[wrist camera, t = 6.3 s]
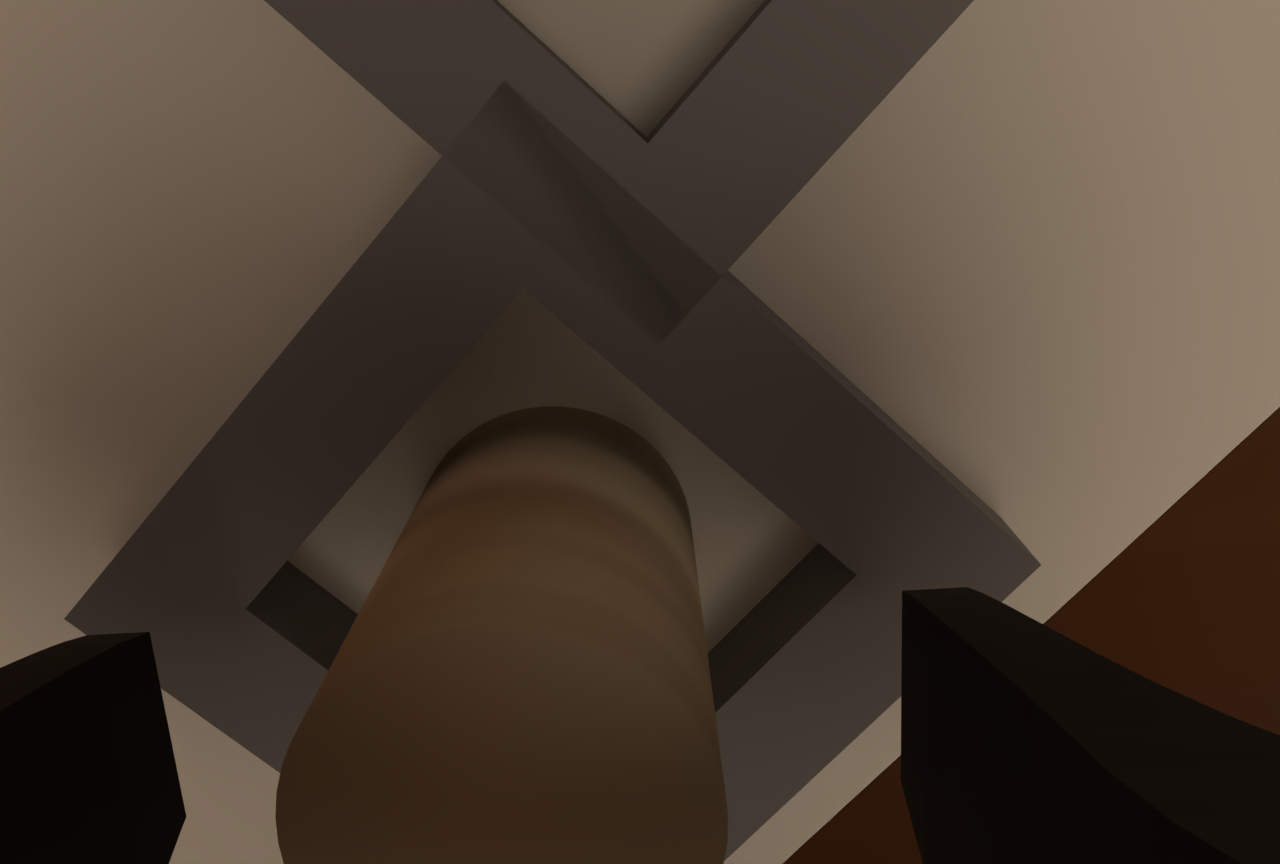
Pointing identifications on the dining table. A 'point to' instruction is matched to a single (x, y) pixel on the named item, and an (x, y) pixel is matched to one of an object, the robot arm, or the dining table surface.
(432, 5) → the pin board
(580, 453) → the wooden pin
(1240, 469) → the dining table surface
